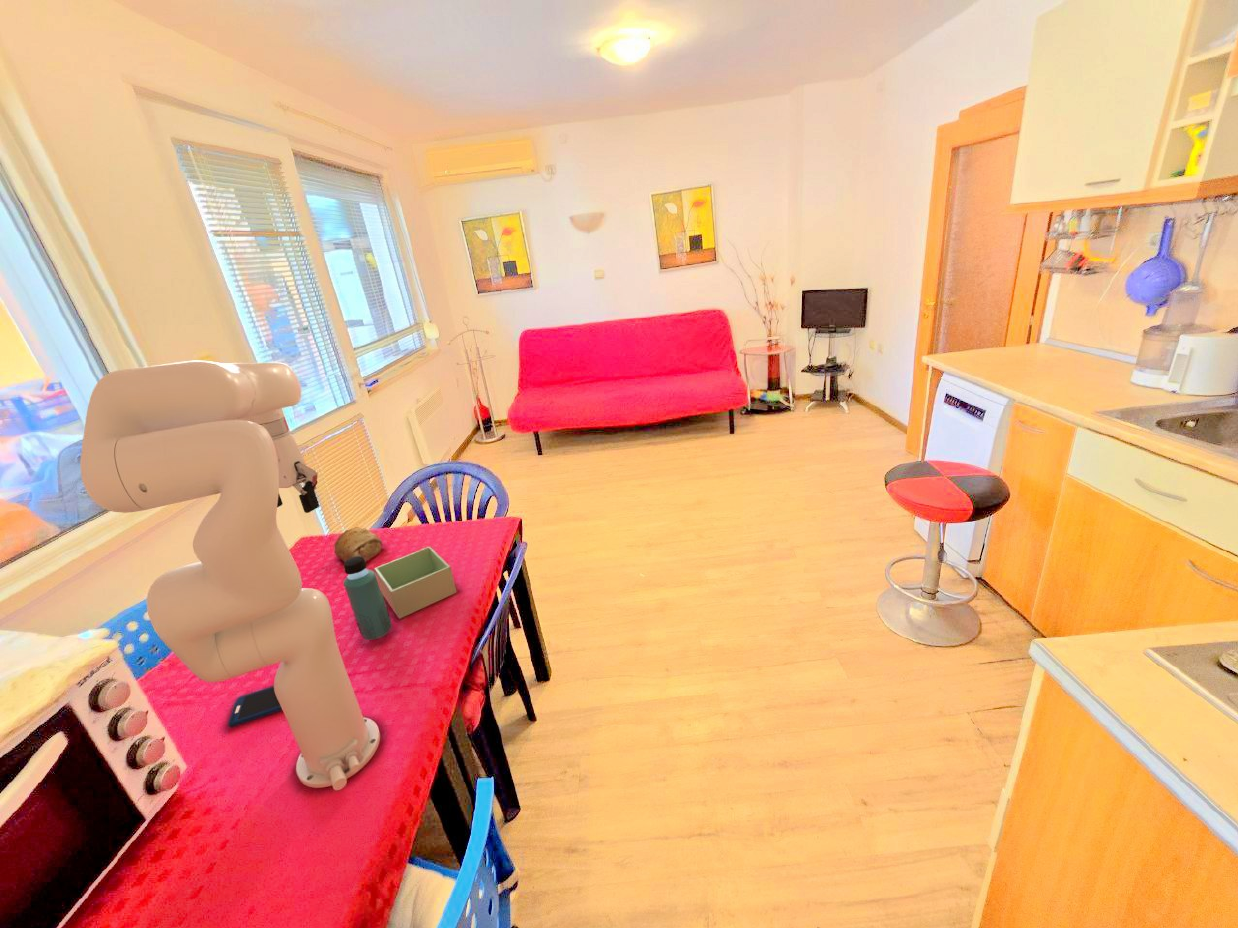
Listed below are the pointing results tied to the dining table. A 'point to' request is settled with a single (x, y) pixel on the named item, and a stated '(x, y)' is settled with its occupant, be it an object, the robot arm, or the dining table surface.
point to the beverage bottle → (366, 599)
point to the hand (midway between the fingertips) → (293, 508)
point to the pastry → (357, 544)
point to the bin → (415, 581)
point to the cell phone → (254, 706)
